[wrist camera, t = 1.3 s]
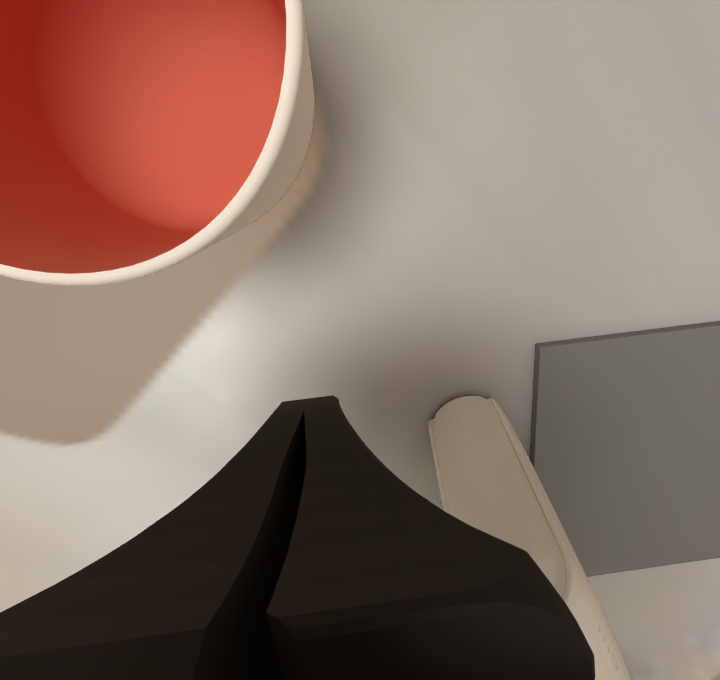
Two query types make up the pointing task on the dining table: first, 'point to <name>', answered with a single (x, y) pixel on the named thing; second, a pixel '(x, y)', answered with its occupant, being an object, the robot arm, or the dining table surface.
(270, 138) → the cup
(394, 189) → the dining table surface
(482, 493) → the photo printer
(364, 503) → the robot arm
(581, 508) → the rubber mat
